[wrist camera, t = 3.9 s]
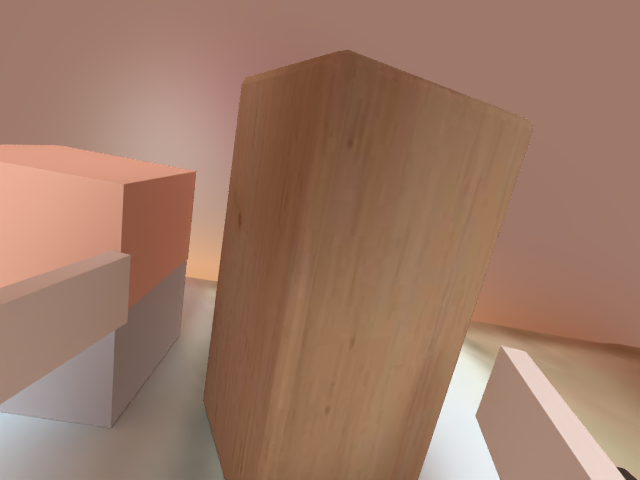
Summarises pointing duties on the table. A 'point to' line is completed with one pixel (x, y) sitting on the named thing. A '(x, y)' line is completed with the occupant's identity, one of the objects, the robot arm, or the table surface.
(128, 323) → the tower base
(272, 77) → the wooden block
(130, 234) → the tower top
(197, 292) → the table surface
